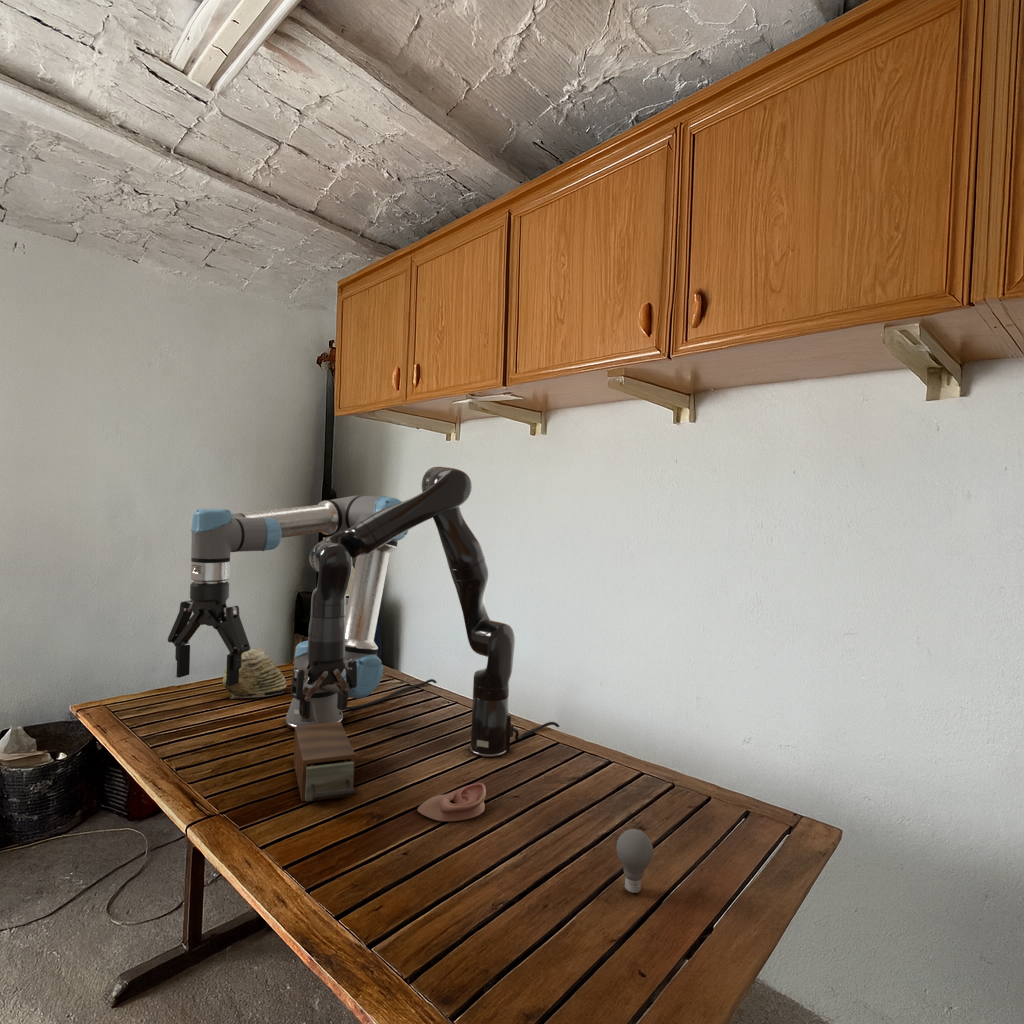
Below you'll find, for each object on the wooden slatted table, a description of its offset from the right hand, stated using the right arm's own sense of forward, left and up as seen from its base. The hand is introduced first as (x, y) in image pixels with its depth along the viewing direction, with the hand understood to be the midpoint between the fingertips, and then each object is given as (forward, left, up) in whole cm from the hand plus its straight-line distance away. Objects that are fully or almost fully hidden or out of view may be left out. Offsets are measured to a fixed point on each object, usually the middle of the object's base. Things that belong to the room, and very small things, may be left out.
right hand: (323, 713), depth 133 cm
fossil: (+6, -76, -18) cm, 78 cm away
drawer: (-2, -4, -17) cm, 17 cm away
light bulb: (-41, +53, -18) cm, 69 cm away
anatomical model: (-24, +15, -18) cm, 33 cm away
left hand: (+22, -14, +5) cm, 26 cm away
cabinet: (-2, -10, -18) cm, 20 cm away
